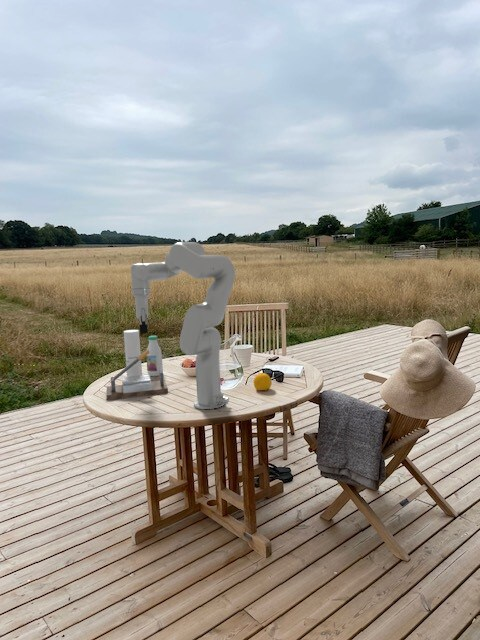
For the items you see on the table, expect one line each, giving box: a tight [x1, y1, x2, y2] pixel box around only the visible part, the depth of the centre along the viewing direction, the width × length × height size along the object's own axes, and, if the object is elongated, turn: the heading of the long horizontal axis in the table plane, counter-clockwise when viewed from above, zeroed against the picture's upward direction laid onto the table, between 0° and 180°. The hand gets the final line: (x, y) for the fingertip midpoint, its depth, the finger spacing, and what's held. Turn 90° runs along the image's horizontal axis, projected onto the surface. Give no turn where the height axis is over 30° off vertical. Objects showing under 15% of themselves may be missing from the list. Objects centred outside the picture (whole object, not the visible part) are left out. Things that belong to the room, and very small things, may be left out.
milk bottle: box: [145, 335, 164, 377], centre depth 229 cm, size 8×8×20 cm
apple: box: [253, 372, 272, 391], centre depth 198 cm, size 8×8×8 cm
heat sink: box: [110, 370, 165, 393], centre depth 202 cm, size 23×14×6 cm, turn 106°
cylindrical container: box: [123, 329, 143, 377], centre depth 217 cm, size 7×7×25 cm
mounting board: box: [106, 380, 169, 401], centre depth 203 cm, size 26×14×2 cm, turn 106°
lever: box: [112, 348, 150, 381], centre depth 201 cm, size 20×4×1 cm
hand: (143, 333), depth 201 cm, fingers closed
